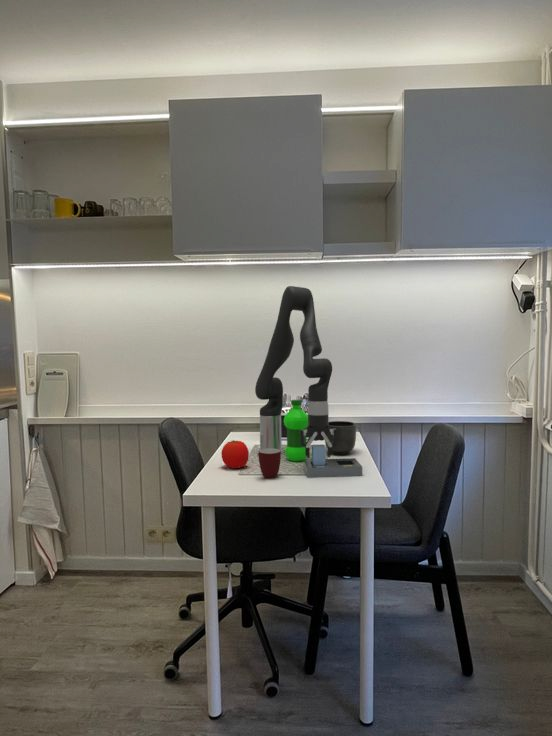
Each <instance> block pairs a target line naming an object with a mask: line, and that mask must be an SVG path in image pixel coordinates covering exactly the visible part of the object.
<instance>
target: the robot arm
mask: <svg viewBox="0 0 552 736" xmlns="http://www.w3.org/2000/svg"><path fill="white" fill-rule="evenodd" d="M292 311H299V312H302V314H303V317H304V321H303V323H302V326H301V329H300V331H299V341H300V345H301V348H302V351H303V353H302V355H303V365H302V367H303V368H302V371H303V374H304V376H305V377H306V378H309V379H319V380H318V381H317V382H316V383H314V384H310V385H309V386H308V393H307V396H308V404H307V415H308V426H307V427H306V430H302V429H300V444H301V446H303V447H305V455H306V456H307V457H306V459H307V458H308V459H309V458H311V457H310V455H311V453H310V447H311V445H312V443H313V442H314V441H324V442H325V441H326V443H327V444H328V446H327V447H326V451H327V452H326V454H327V456H326V457H328V458H331V456H332V455H333V454H332V446H336V445H337V430H336V429H335V428H334V429H329V422H330V421H329V402H328V396H329V395H328V393H329V392H328V390H329V386H330V380H331V378H332V372H333V365H332V364H333V363H332V362H331V360H329V359H328V358H324V357H323V358H315V357H317V356H319V355H320V354H321V353H322V351H323V348H322V344H321V341H320V340H321V339H320V336H319V333H318V328H317V322H316V310H315V303H314V295H313V293H312V291H311V290H310V289H309V288H307V287H301V286H294V285H289V286H286V288H285V289H284V291H283V293H282V297H281V301H280V306H279V311H278V314H277V315H278V316H277V320H276V323H275V326H274V330H273V334H272V337H271V340H270V343H269V347H268V350H267V354H266V357H265V360H264V363H263V366H262V368H261V370H260V373H259V376H258V377H257V380H256V384H255V389H254V390H255V395H256V398H257V399H259V400H263V401H265V400H267V401H268V402H267V403H266V404H265V405H263V406H261V408H260V409H259V425H260V426H259V427H260V428H259V450H261V449H268V448H273V449H279V450H280V451H281V455H282V453H283V452H282V447H283V446H282V444H283V443H282V409H283V403H284V401H283V400H284V399H283V397H284V386H283V382H282V380H281V379H280V378H279V377H274V376H275V374H276V373H277V372H278V370H279V369H280V367H282V366H283V365H284V364H285V363H286V361H287V360H288V359H289V358H290V355H291V353H292V350H293V347H294V342H295V337H294V334H293V330H292V327H291V322H290V320H291V315H292ZM329 432H331V434H332V435H333V442H331V443H330V441H329V439H328V438H327V435H328V434H329ZM307 434H308V436H309V437H307V439H306V443H304V436H305V435H306V436H307Z"/></svg>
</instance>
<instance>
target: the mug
mask: <svg viewBox="0 0 552 736" xmlns="http://www.w3.org/2000/svg"><path fill="white" fill-rule="evenodd" d="M281 458H282V454H281V451H280V450H279V449H273V448H268V449H261V450H260V449H259V450H258V463H259V468H260V472H261V475H262V477H263V478H264V479H268V480H269V479H276V478H277V476H278V474H279V471H280V467H281V460H282V459H281Z"/></svg>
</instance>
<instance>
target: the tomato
mask: <svg viewBox="0 0 552 736" xmlns="http://www.w3.org/2000/svg"><path fill="white" fill-rule="evenodd" d="M220 454H221V459H222V462H223V463H224V465H225V466H226V467H228V468H231V469H238V468H243V467H244V466H245V465H246V464H247V463H248V462H249V456H250V455H249V449H248V447H247V444H245V443H244V441H241V440H234V439H233V440H230V441H227V442H226V443H225V444H224V445H223V446H222V449H221V453H220Z"/></svg>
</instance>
